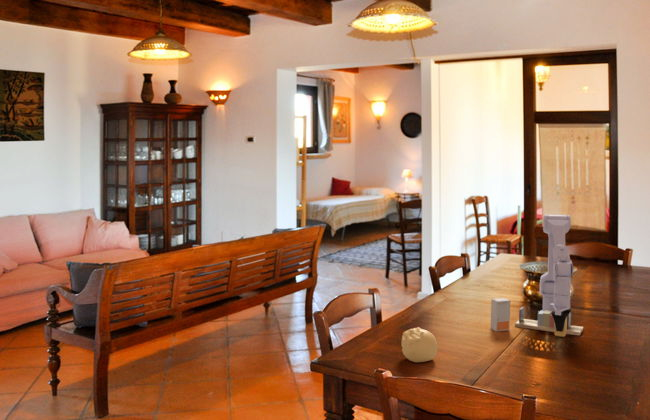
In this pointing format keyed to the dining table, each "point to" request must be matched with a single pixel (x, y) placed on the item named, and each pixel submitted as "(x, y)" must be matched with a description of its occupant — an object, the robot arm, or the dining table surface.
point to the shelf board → (533, 325)
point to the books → (545, 319)
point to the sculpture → (419, 345)
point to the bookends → (521, 317)
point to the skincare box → (500, 314)
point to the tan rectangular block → (563, 330)
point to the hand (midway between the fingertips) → (560, 329)
